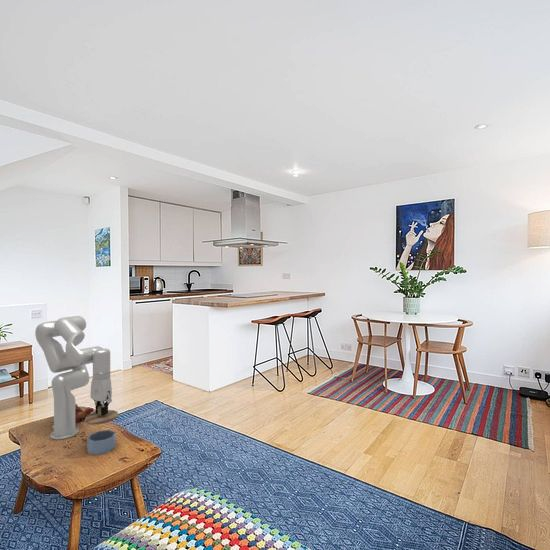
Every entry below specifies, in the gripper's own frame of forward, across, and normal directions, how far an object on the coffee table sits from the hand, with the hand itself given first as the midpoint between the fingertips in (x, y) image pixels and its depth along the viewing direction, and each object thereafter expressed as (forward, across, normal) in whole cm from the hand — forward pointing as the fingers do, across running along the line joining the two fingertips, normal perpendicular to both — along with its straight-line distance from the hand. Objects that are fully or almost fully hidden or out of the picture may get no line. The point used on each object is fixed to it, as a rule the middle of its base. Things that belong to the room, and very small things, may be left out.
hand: (101, 413), depth 165 cm
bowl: (+17, 0, 0) cm, 17 cm away
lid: (+2, 0, 0) cm, 2 cm away
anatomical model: (+17, -43, +15) cm, 48 cm away
